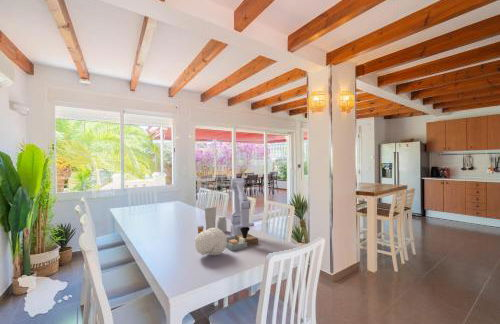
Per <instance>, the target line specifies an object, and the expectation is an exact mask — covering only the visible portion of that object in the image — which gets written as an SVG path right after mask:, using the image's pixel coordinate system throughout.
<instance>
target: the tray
mask: <svg viewBox="0 0 500 324" xmlns="http://www.w3.org/2000/svg"><path fill="white" fill-rule="evenodd" d="M226 239H227V244H226V247H225V249H228V250H229V251H231V252H235V251H240V250H244V249H246V248H248V246H247V242H245V243H241V244H239V242H238V244H235V245H231V244H229V240H233V239H235V236H228V237H227V236H226Z"/></svg>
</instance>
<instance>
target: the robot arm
mask: <svg viewBox="0 0 500 324" xmlns="http://www.w3.org/2000/svg"><path fill="white" fill-rule="evenodd" d="M245 184H246V181H245V178H243V177H241V178H237V177H236V178H233V177H232V178H231V179H230V188H231V190H233V204H234V206H233V209H234V211H233V212H232V213H231V214H230V223H231V224H230V233H229V236H230V237H232V236H235V235H239V234H242V235H243V238H244V239H245V238H246V237H247V234H249V231H250V230H251V229H250V227H255V223H254V222H250V209H251V201H250V200H249V199H248V195H247V193H246V192H245V189H244V187H245Z"/></svg>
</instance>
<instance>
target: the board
mask: <svg viewBox="0 0 500 324" xmlns="http://www.w3.org/2000/svg"><path fill="white" fill-rule="evenodd" d="M240 237H242V238H243V235H242V234H239V235H235V240H237V241H238V242H239V238H240ZM245 242H247V247H251V246H256V245H258V244H259V238H258V237H256V236H254V235H252V234H249V233H248V234H247V237H246V238H245ZM250 245H251V246H250Z"/></svg>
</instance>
